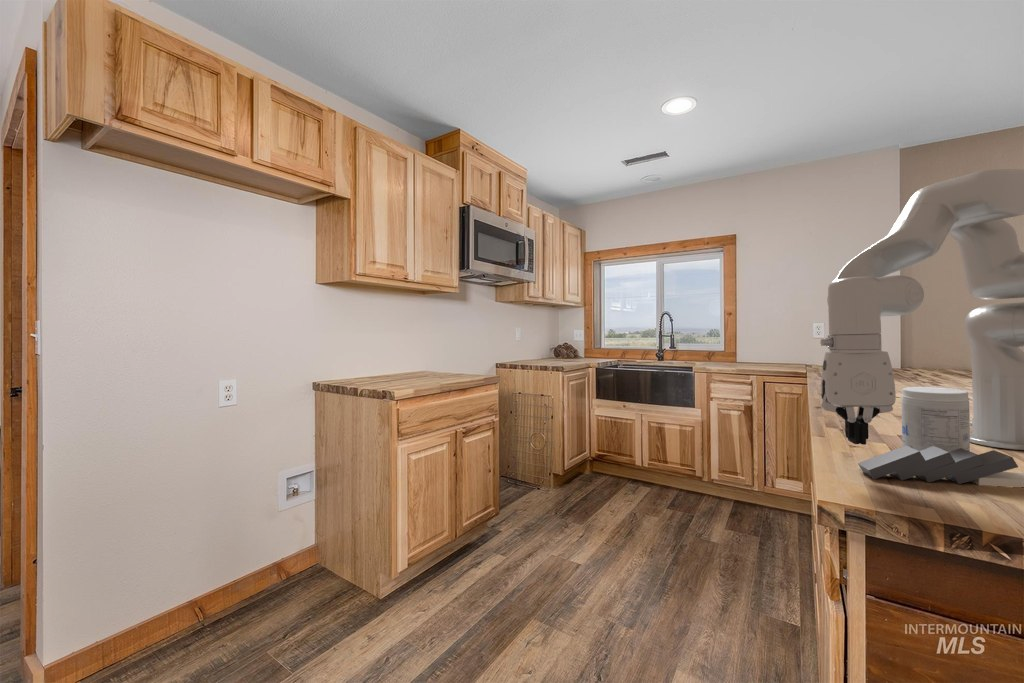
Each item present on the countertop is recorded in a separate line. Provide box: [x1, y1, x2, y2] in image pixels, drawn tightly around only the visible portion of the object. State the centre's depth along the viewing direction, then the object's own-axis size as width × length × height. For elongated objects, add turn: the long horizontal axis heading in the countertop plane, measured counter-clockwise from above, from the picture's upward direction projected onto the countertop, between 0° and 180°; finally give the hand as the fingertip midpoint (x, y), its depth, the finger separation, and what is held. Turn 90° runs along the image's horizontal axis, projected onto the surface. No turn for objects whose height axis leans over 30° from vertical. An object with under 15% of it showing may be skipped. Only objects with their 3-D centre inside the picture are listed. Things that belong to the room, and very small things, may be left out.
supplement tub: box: [901, 386, 971, 452], centre depth 84 cm, size 10×10×15 cm
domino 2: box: [889, 446, 955, 481], centre depth 76 cm, size 4×2×8 cm
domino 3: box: [916, 448, 984, 483], centre depth 74 cm, size 4×2×8 cm
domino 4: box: [946, 449, 1019, 485], centre depth 73 cm, size 4×2×8 cm
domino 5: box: [971, 471, 1024, 488], centre depth 72 cm, size 4×2×8 cm
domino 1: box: [857, 445, 926, 480], centre depth 77 cm, size 4×2×8 cm
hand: (856, 442), depth 78 cm, fingers closed
